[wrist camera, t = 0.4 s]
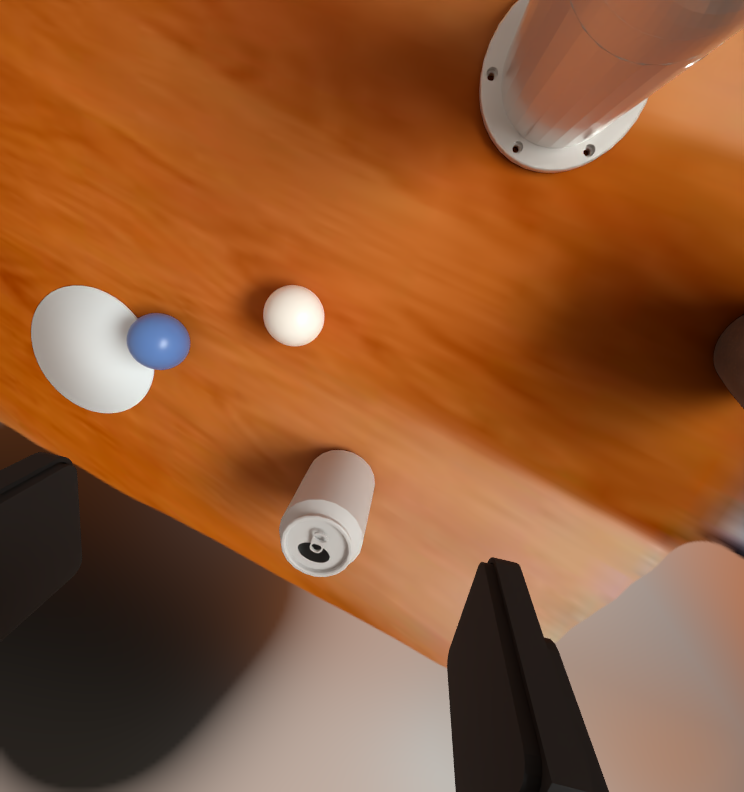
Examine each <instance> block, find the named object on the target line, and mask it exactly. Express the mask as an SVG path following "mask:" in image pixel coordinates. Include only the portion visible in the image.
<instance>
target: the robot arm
mask: <svg viewBox="0 0 744 792" xmlns="http://www.w3.org/2000/svg"><path fill="white" fill-rule="evenodd" d="M743 28H744V0H518V1H517V2H516V3H515V4H514V5H513V6H512V7H511V8H510V9H509V11H508V12H507V14H506V15H505V16H504V18H503V19H502V20H501V22H500V23H499V25H498V27H497V29H496V31H495V33H494V35H493V37H492V39H491V41H490V43H489V46H488V49H487V52H486V55H485V58H484V62H483V66H482V70H481V75H480V86H479V99H480V110H481V114H482V118H483V122H484V126H485V128H486V130H487V132H488V134H489V136H490V138H491V140H492V142H493V143H494V144H495V146H496V147H497V148H498V150H499V151H500V152H501V153H502V154H503V155H504V156H505V157H507V158H508V159H509V160H510V161H511V162H513V163H515V164H517V165H519V166H521V167H523V168H525V169H528V170H532V171H536V172H544V173H557V172H563V171H569V170H572V169H575V168H578V167H580V166H583V165H585V164H587V163H589V162H591V161H593V160H595V159H597V158H598V157H599V156H601V155H602V154H604V153H605V152H607V151H608V150H610V149H611V148H612V147H613V146H614V145H615V144H616V143H617V142H618V141H620V140H621V139H622V138H623V137H624V136H625V135H626V133H627V132H628V131H629V129H630V128H631V127H632V126H633V124H634V123H635V122H636V120H637V119H638V117H639V115H640V113H641V111H642V110H643V108H644V106H645V104H646V102H647V100H648V97H649V96H651V95H652V94H653V93H655V92H656V91H657V90H659V89H660V88H662V87H663V86H664V85H666V84H667V83H669V82H670V81H671V80H673V79H674V78H676V77H677V76H678V75H680V74H681V73H683V72H684V71H685V70H687V69H688V68H690V67H691V66H692V65H694V64H695V63H697V62H698V61H699V60H701V59H702V58H704V57H705V56H706V55H708V54H709V53H711V52H712V51H713V50H715V49H716V48H717V47H719V46H720V45H721V44H723V43H724V42H725V41H727V40H728V39H730V38H731V37H732V36H734V35H735V34H737V33H738V32H739V31H741V30H742V29H743ZM489 75H492V76H493V78H494V79H493V80H492V81H490V80H488V78H487V77H488V76H489ZM513 147H517V148H518V152H517V153H514V152H513V150H512V149H513ZM584 150H587V151H588V155H587V156H585V155H584V154H583V151H584ZM81 562H82V550H81V532H80V517H79V499H78V482H77V471H76V468H75V467H74V466H73V465H72V462H71V460H70V459H68V458H66V457H62V456H58V455H54V454H50V453H45V452H38V453H35V454H33V455H31V456H29V457H27V458H25V459H23V460H21V461H19V462H17V463H15V464H13V465H11V466H9V467H7V468H4V469H2V470H0V642H1V641H2V640H3V639H4V638H5V637H6V636H8V635H9V634H10V633H11V632H12V631H13V630H14V629H15V628H16V627H17V626H19V625H20V624H21V623H22V622H23V621H24V620H25V619H26V618H27V617H29V615H31V614H32V613H33V612H34V611H35V610H36V609H37V608H38V607H40V606H41V605H42V604H43V603H44V602H45V601H46V600H47V599H48V598H49V597H51V596H52V595H53V594H54V593H55V592H56V591H57V590H58V589H60V588H61V587H62V586H63V585H64V584H65V583H66V582H67V581H68V580H69V579H71V577H73V576H74V575H75V574H76V572H77V571H78V569H79V567H80V565H81ZM447 671H448V685H449V699H450V712H451V713H450V714H451V728H452V743H453V757H454V772H455V786H456V792H609V790H608V788H607V785H606V782H605V779H604V777H603V774H602V771H601V768H600V765H599V763H598V760H597V757H596V754H595V751H594V749H593V746H592V743H591V741H590V738H589V735H588V732H587V729H586V727H585V724H584V721H583V718H582V716H581V712H580V710H579V707H578V704H577V702H576V699H575V696H574V693H573V691H572V688H571V685H570V682H569V679H568V676H567V674H566V671H565V668H564V665H563V662H562V660H561V657H560V654H559V651H558V649H557V647H556V645H555V643H554V642H553V641H552V640H551V639H548V638H544V637H543V634H542V631H541V628H540V625H539V622H538V619H537V616H536V613H535V610H534V607H533V604H532V601H531V598H530V595H529V592H528V589H527V586H526V582H525V579H524V576H523V573H522V570H521V568H520V566H519V564H517V563H514V562H510V561H506V560H502V559H497V558H493V557H492V558H490V559H489V561H488V563H484V562H481V563H480V564H479V566H478V569H477V572H476V575H475V578H474V580H473V583H472V586H471V589H470V592H469V595H468V598H467V601H466V603H465V606H464V609H463V612H462V615H461V618H460V621H459V623H458V626H457V629H456V632H455V635H454V638H453V641H452V644H451V646H450V650H449V654H448V663H447Z"/></svg>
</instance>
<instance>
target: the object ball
mask: <svg viewBox="0 0 744 792" xmlns="http://www.w3.org/2000/svg"><path fill="white" fill-rule="evenodd" d="M126 341H127V347H128V350H129V352H130V354H131V355H132V357H133V358H134V359H135V360H136V361H137V362H138V363H140V364H141V365H143V366H145V367H147V368H151V369H155V370H165V369H170V368H173V367H175V366H177V365H179V364H180V363H181V362H182V361H183V360H184V359H185V358H186V356H187V355H188V352H189V349H190V337H189V334H188V332H187V330H186V328H185V327H184V325H183V324H182V323H181V322H180V321H178V320H177V319H175V318H174V317H172V316H169V315H166V314H162V313H151V314H147V315H144V316H141V317H140V318H138V319H137V320H135V321H134V322H133V323H132V325H131V326H130V328H129V330H128V333H127V339H126Z"/></svg>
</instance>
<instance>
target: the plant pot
mask: <svg viewBox="0 0 744 792" xmlns="http://www.w3.org/2000/svg"><path fill="white" fill-rule="evenodd" d="M713 360H714V366H715V369H716V372H717V373H718V375H719V377H720V378H721V380H722V381H723V383H724V384H725V386H726V387H727V388H728V390H729V391H730V393H731V394H732V395H733V396H734V398H735V399H736V400H737V401H738V402H739V404H740V405H741V406H742V407H743V408H744V315H742V316H741V317H739V318H738V319H736V320H735V321H733V322H732V323H731V324H730V325H729V326H728V327H727V328H726V329H725V331H724V332H723V333H722V334H721V336H720V338H719V339H718V341H717V344H716V346H715V350H714V357H713Z"/></svg>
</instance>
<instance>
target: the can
mask: <svg viewBox="0 0 744 792" xmlns="http://www.w3.org/2000/svg"><path fill="white" fill-rule="evenodd" d="M374 487H375V481H374V475H373V472H372V470H371V468H370V466H369V465H368V464H367V463H366V462H365V461H364V459H363V458H361V457H359V456H358V455H356V454H354V453H352V452H348V451H345V450H331V451H328V452H325V453H322V454H321V455H320V456H318V457H317V458H316V459H314V461H313V463H312V464H311V466H310V467H309V469H308V471H307V473H306V475H305V476H304V478H303V480H302V482H301V484H300V486H299V487H298V489H297V491H296V493H295V495H294V497H293V499H292V500H291V502H290V504H289V506H288V508H287V510H286V511H285V513H284V515H283V517H282V519H281V523H280V528H279V532H280V538H281V547H282V552H283V554H284V555H285V557H286V559H287V561H288V562H289V563H290V564H291V565H292V566H293V567H294V568H296V569H298V570H299V571H301V572H303V573H305V574H308V575H312V576H315V577H327V576H331V575H335V574H338V573H339V572H341V571H342V570H344V569H345V568H346V567H347V565H348V564H350V563H351V562H353V561H354V560H355V558H356V557H357V556H358V554H359V553H360V550H361V547H362V543H363V539H364V534H365V529H366V525H367V520H368V515H369V510H370V506H371V501H372V496H373V492H374Z"/></svg>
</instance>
